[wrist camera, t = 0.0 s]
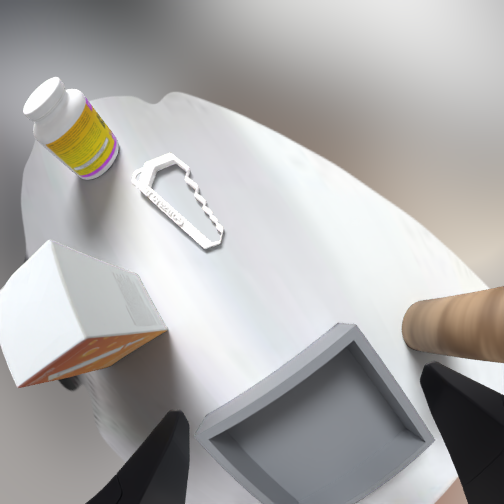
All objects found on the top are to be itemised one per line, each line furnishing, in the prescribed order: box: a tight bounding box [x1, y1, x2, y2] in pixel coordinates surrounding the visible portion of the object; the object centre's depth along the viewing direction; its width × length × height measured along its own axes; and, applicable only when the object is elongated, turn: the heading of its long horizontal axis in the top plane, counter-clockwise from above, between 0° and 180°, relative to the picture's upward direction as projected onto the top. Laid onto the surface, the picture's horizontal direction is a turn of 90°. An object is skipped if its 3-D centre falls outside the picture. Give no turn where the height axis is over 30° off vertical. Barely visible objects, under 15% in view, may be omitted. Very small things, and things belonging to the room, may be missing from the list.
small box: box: [0, 240, 168, 388], centre depth 17 cm, size 8×6×13 cm
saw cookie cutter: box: [132, 153, 224, 249], centre depth 26 cm, size 13×5×2 cm, turn 49°
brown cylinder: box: [402, 286, 504, 363], centre depth 16 cm, size 5×5×13 cm
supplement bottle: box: [23, 77, 119, 180], centre depth 22 cm, size 7×7×13 cm
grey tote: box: [194, 323, 435, 504], centre depth 18 cm, size 15×15×5 cm
